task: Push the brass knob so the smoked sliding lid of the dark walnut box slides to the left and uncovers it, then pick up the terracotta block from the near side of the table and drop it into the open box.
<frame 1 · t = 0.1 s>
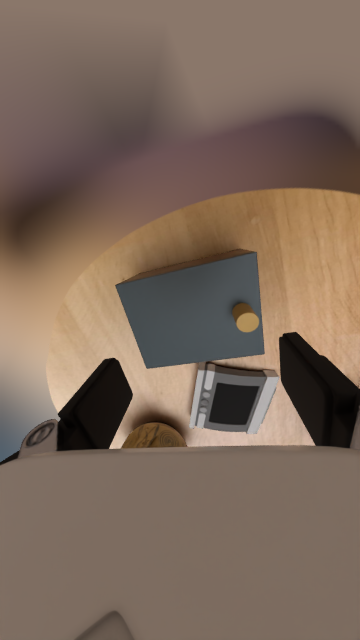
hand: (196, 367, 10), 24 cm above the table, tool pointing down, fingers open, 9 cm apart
alarm clock: (229, 394, 41), on the table
lid: (191, 324, 23), point 11 cm above the table, slide at 0.0 cm
box: (195, 299, 33), on the table
ceramic bowl: (161, 430, 49), on the table
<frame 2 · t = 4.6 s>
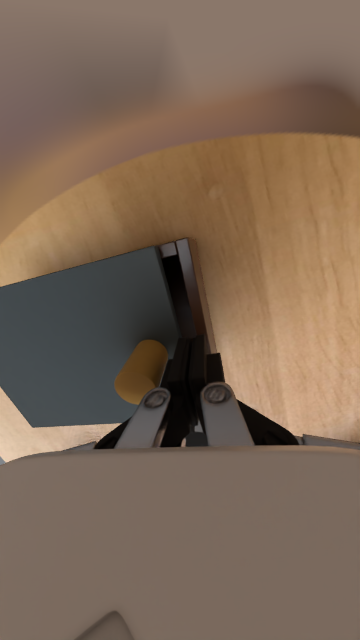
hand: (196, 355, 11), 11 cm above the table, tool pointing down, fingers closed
alarm clock: (198, 436, 31), on the table
lid: (63, 375, 13), point 11 cm above the table, slide at 1.8 cm, touching gripper
box: (138, 313, 23), on the table
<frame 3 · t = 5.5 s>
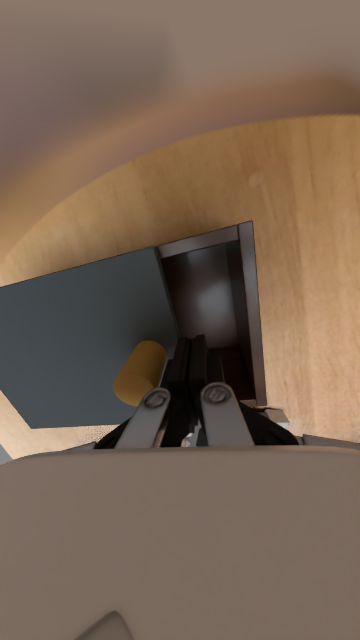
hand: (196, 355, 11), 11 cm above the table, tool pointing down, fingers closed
alarm clock: (219, 436, 30), on the table
lid: (61, 376, 13), point 11 cm above the table, slide at 5.4 cm, touching gripper
box: (164, 309, 22), on the table
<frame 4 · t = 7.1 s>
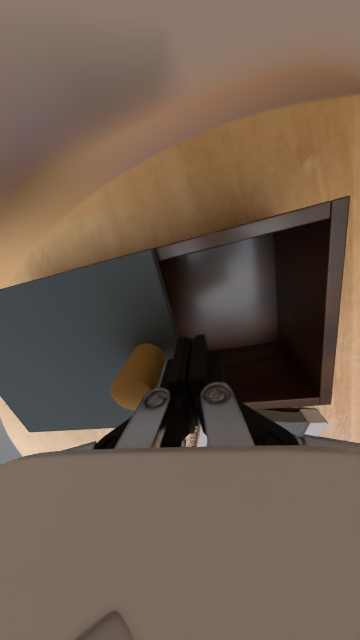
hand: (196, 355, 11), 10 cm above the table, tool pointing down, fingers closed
alarm clock: (247, 437, 29), on the table
lid: (59, 380, 13), point 11 cm above the table, slide at 9.9 cm
box: (200, 304, 21), on the table
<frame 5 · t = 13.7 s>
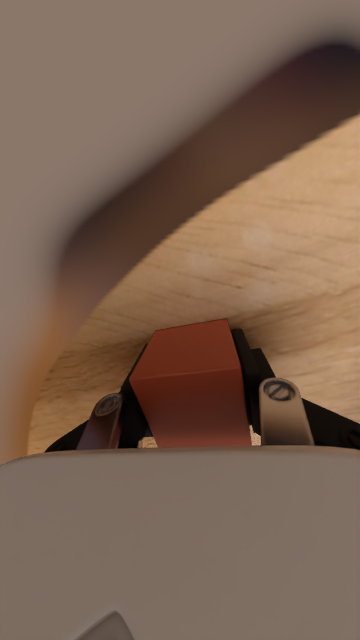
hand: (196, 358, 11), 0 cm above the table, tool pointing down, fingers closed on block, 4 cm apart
block: (196, 354, 12), on the table, touching gripper
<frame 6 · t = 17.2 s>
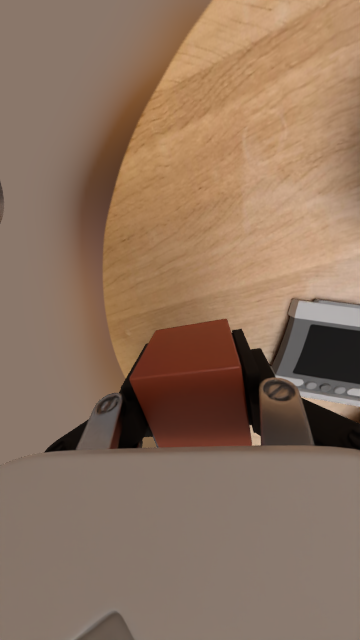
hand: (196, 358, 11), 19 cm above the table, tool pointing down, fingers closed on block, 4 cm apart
alarm clock: (328, 347, 30), on the table
lid: (200, 469, 30), point 11 cm above the table, slide at 9.9 cm
block: (197, 354, 12), point 19 cm above the table, touching gripper
when the fingers open (8 cm above the table, at t = 20.7 s): block drops 7 cm, resting on box.
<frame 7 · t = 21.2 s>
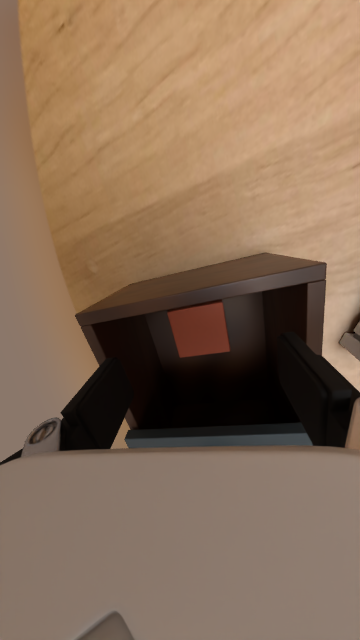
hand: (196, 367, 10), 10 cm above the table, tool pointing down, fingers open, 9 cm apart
lid: (233, 527, 14), point 11 cm above the table, slide at 9.9 cm
block: (200, 313, 19), point 1 cm above the table, touching box
box: (208, 345, 21), on the table
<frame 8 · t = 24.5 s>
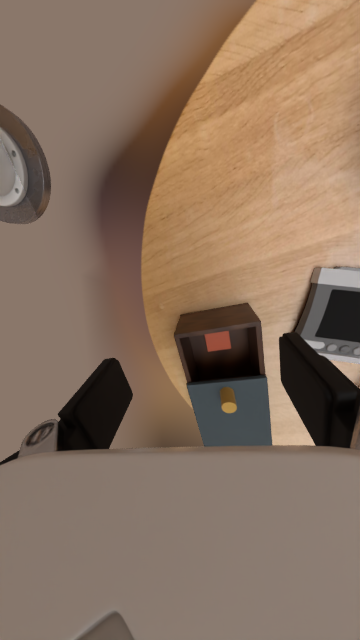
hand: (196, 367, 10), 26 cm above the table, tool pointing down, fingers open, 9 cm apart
alarm clock: (346, 313, 34), on the table
lid: (232, 424, 33), point 11 cm above the table, slide at 9.9 cm
block: (216, 329, 37), point 1 cm above the table, touching box
box: (219, 345, 39), on the table
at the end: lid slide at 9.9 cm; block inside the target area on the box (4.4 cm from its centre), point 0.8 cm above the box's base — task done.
